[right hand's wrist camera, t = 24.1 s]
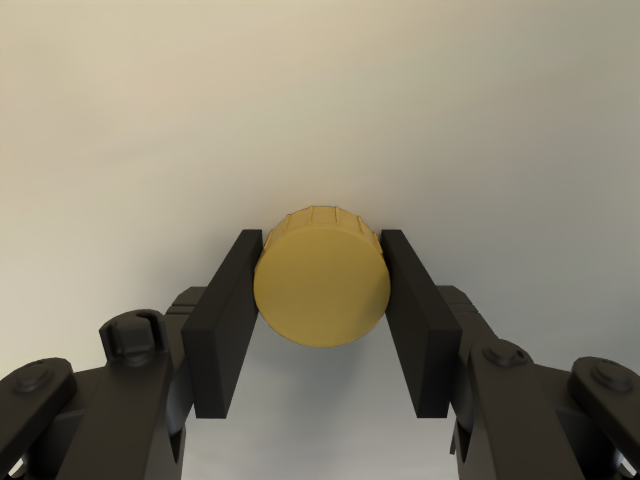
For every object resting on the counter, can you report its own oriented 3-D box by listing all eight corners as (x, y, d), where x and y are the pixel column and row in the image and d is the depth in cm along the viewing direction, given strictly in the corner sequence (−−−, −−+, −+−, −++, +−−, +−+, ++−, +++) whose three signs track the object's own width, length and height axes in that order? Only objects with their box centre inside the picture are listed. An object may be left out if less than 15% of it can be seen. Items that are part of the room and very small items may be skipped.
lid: (246, 287, 15) (233, 321, 13) (289, 185, 13) (282, 202, 11) (350, 327, 16) (354, 365, 13) (402, 234, 14) (418, 259, 12)
